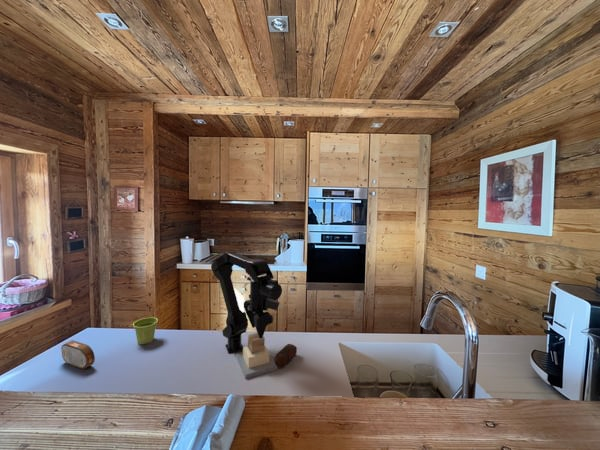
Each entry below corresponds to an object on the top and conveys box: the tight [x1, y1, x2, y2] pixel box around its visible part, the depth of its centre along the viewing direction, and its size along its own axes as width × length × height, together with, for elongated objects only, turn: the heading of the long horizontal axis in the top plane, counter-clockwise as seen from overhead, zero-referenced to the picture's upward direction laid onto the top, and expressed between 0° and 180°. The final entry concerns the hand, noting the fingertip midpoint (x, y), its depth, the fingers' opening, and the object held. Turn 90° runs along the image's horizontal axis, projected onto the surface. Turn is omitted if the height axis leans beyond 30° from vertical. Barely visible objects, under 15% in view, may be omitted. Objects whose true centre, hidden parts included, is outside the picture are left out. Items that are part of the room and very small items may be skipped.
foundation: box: [235, 344, 278, 380], centre depth 96 cm, size 14×12×6 cm
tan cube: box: [247, 332, 266, 354], centre depth 96 cm, size 5×5×5 cm
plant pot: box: [132, 317, 159, 345], centre depth 110 cm, size 9×9×9 cm
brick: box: [274, 343, 298, 369], centre depth 99 cm, size 11×4×5 cm, turn 152°
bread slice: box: [61, 339, 96, 370], centre depth 92 cm, size 15×3×8 cm, turn 71°
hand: (257, 332), depth 96 cm, fingers open, 9 cm apart
